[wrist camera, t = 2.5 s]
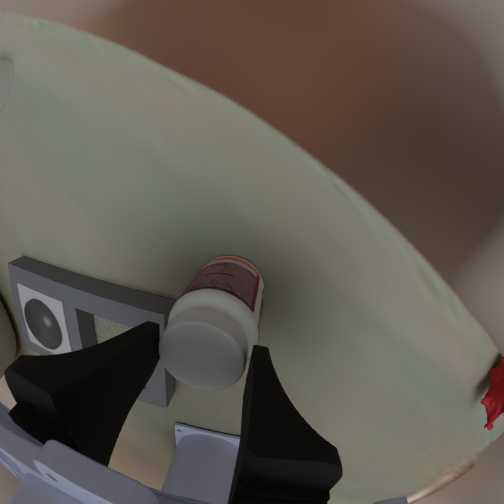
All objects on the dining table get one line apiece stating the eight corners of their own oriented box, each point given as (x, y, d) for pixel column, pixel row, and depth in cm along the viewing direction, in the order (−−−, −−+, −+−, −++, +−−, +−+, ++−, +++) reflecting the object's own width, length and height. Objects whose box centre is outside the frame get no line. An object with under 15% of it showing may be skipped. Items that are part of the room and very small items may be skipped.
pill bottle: (187, 267, 19) (131, 327, 11) (249, 244, 18) (225, 299, 10) (214, 323, 20) (181, 402, 12) (274, 305, 20) (269, 387, 11)
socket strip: (174, 391, 23) (164, 412, 20) (38, 336, 24) (23, 348, 21) (175, 299, 20) (160, 318, 17) (23, 256, 21) (3, 264, 18)
